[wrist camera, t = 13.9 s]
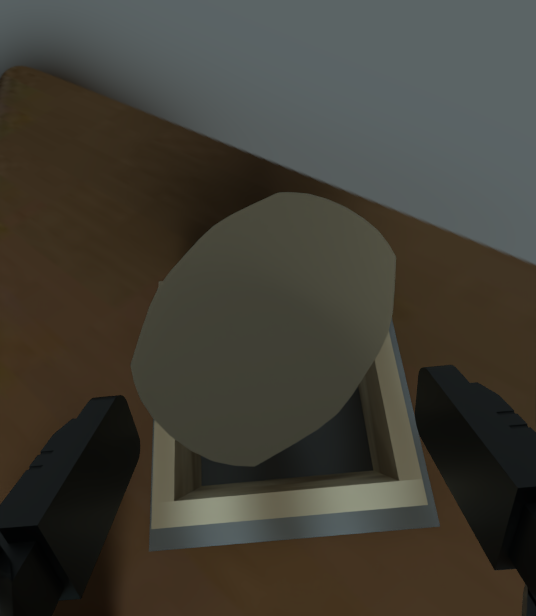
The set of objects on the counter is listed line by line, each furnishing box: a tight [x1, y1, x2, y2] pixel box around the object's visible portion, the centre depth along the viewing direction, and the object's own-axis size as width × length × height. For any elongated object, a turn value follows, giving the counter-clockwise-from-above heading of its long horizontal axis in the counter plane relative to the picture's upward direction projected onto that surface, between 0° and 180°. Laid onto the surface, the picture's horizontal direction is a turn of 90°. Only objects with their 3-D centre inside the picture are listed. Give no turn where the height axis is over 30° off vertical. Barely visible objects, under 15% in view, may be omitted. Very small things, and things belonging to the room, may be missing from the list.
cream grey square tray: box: [149, 281, 440, 551], centre depth 20 cm, size 16×16×6 cm
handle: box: [131, 192, 396, 467], centre depth 14 cm, size 5×6×15 cm
